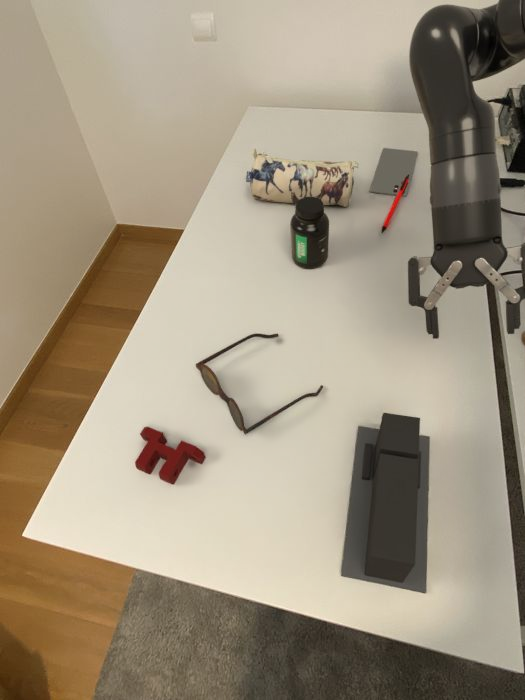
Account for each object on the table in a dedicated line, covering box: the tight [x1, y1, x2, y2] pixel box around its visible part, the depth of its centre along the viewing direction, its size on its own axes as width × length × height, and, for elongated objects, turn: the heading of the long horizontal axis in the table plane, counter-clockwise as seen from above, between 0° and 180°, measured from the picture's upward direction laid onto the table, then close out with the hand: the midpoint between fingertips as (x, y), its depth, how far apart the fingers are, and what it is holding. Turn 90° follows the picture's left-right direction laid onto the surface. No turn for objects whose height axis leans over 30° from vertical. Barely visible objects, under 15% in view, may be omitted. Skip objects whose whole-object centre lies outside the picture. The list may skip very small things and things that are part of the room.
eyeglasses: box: [195, 333, 324, 436], centre depth 76 cm, size 15×15×5 cm
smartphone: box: [369, 147, 419, 198], centre depth 107 cm, size 8×1×16 cm
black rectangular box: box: [373, 412, 421, 477], centre depth 65 cm, size 4×5×9 cm
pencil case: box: [245, 148, 359, 208], centre depth 101 cm, size 22×8×10 cm, turn 77°
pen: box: [380, 174, 409, 235], centre depth 100 cm, size 1×19×1 cm, turn 156°
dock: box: [340, 425, 431, 594], centre depth 62 cm, size 10×20×10 cm, turn 168°
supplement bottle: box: [289, 196, 330, 270], centre depth 89 cm, size 7×7×12 cm
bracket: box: [134, 426, 207, 486], centre depth 71 cm, size 3×6×10 cm
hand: (472, 335), depth 62 cm, fingers open, 8 cm apart
